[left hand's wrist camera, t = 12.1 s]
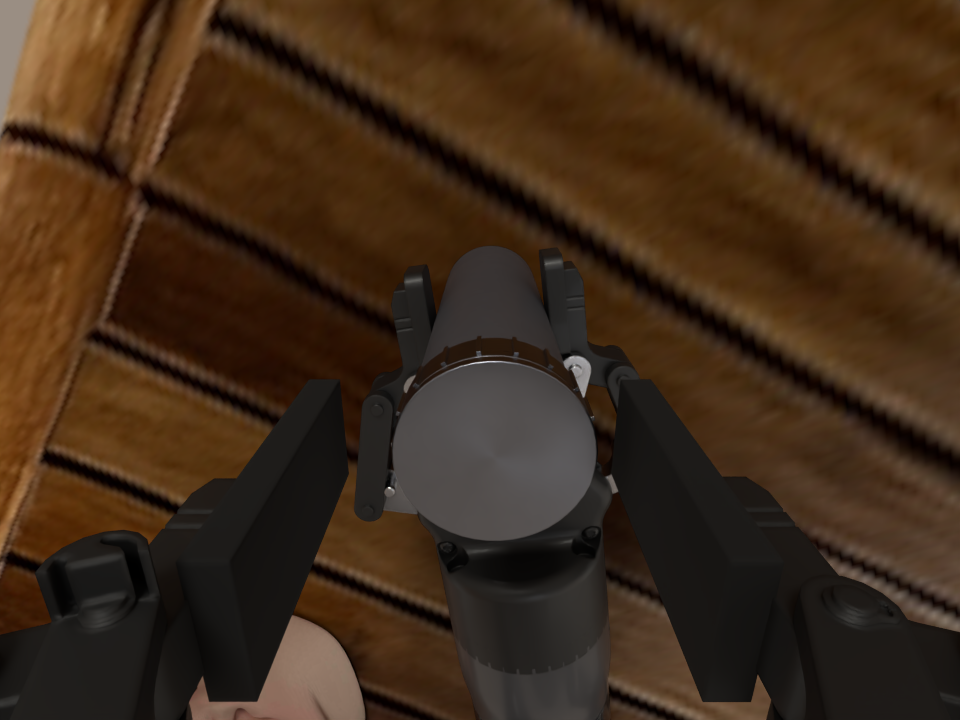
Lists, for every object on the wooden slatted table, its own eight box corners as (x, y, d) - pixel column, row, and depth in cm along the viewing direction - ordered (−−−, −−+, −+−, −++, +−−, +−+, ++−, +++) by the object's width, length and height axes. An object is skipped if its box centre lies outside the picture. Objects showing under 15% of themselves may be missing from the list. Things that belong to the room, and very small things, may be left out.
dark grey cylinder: (434, 262, 28) (372, 393, 13) (519, 233, 27) (557, 335, 12) (463, 342, 29) (438, 543, 14) (545, 316, 29) (607, 498, 14)
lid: (369, 369, 14) (354, 396, 12) (559, 308, 13) (569, 329, 12) (436, 522, 16) (431, 564, 14) (609, 475, 15) (623, 513, 13)
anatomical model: (136, 655, 32) (338, 657, 32) (172, 601, 35) (354, 603, 35) (180, 807, 36) (357, 809, 36) (209, 746, 40) (369, 748, 40)
